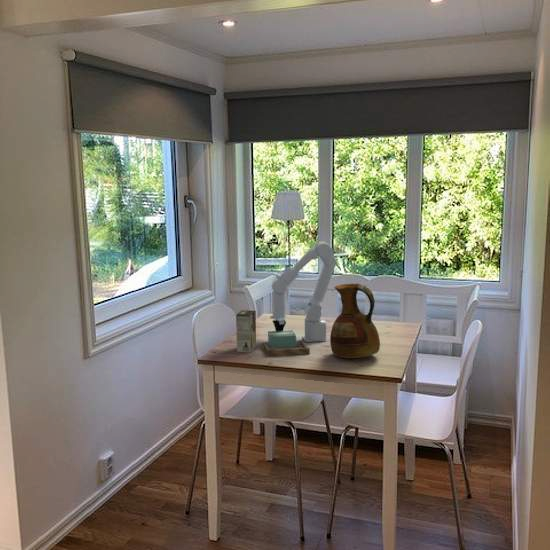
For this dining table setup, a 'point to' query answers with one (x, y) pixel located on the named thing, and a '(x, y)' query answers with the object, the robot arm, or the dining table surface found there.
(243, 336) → the coffee box
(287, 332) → the teal rectangular block
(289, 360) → the dining table surface
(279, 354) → the display stand
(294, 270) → the robot arm
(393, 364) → the dining table surface
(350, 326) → the ceramic pitcher
